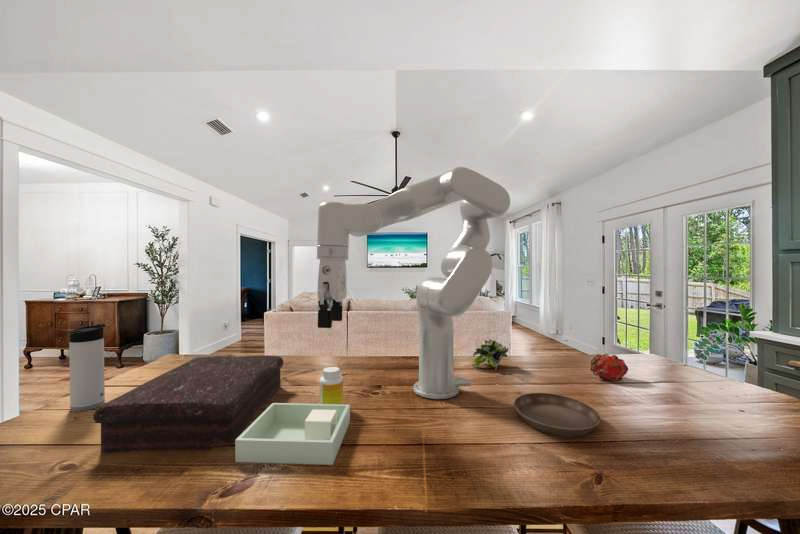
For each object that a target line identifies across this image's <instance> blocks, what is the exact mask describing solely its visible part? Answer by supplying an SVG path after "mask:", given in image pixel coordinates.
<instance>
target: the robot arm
mask: <svg viewBox="0 0 800 534" xmlns="http://www.w3.org/2000/svg"><path fill="white" fill-rule="evenodd" d="M460 201H461V202H460ZM457 202H460V207H459V209H460V215H461V219H462V229H461V232H460V234H459V235H458V236H457V239H456V240H455V241H454V243H453V244H452V246H450V248H449V250H448V251H447V252H446V254H445V255H444V257H443V258H442V259H441V263H440V269H441V270H440V271H441V272H442V275H444V276H445V277H439V276H438V277H436V276H435V277H434V276H433V277H432V276H431V277H429V278H426V279H424V280H423V281H422V282H421V283H419V285H418V287H417V289H416V290H417V291H416V295H415V296H416V298H415V300H416V305H417V306H416V307H417V312H418V331H419V332H418V381H416V382H415V383H414V384H413V387H412V389H413V392H414V393H415V394H417V396H420V397H422V398H425V399H430V400H431V399H433V400H447V399H450V398H454V397H456V396H457V395H458V394H459V392H460V386H462V387H471V385H472V383H471V382H472V381H471V379H470V378H466V377H465V376H456V375H455V373H454V337H455V335H454V331H455V330H454V329H455V327H454V321H453V317H458V316H461V315H463V314H464V313H466V311H467V310H468V309H470V307H471V305H473V303H474V301H475V300H476V299H477V297H478V295H479V294H480V292H481V290H483V288H484V286H485V285H486V283H487V282H488V280H489V278H490V277H491V274H492V270H493V260H492V256H491V254H490V253H489V252H488V251H487V247H488V245H489V243H490V239H491V238H490V237H491V234H490V228H489V223H488V219H494V218H498V217H501V216H503V215H504V214H505V213H507V212H508V210H509V209H510V206H511V196H510V195H509V192H508V191H507V190H506V188H505V187H504V186H502V185H501V184H499V183H497V182H495V181H493V180H492V179H491V178H489V177H486V176H485V175H483V174H482V173H479V172H477V171H475V170H473V169H470V168H468V167H464V166H458V167H454V168H452V169H450V170H448V171H446V172H443V173H442V174H439V175H436V176H433V177H430V178H428V179H425V180H422V181H420V182H416V183H413V184H411V185H407V186H405V187H403V188H401V189H399V190H397V191H395V192H393V193H391V194H389V195H387V196H386V197H383V198H381V199H378V200H376V201H373V202H370V203H354V204H351V203H346V204H345V203H343V202H338V201H325V202H322V203H320V204H319V206H318V209H317V238H316V239H317V241H316V243H317V246H316V260H319V265H318V274H317V276H318V277H317V299H318V301H317V303H318V306H317V328H319V329H331V328H332V327H333V322H342V320H343V302H344V299H346V298H347V292H348V291H347V265H346V261H349V248H350V247H349V245H350V243H349V242H350V241H349V240H350V235H351V236H352V237H356V238H359V237H361V238H362V237H364V236H369V235H372V234H375V233H376V232H378V231H379V230H380V229H383V228H385V227H389V226H392V225H395V224H399V223H401V222H407V221H409V220H410V221H411V220H413V219H415V218H419V217H421V216H424V215H426V214H428V213H431V212H434V211H436V210H438V209H441V208H444V207H446V206H448V205H451V204H453V203H457Z"/></svg>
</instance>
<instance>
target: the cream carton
mask: <svg viewBox="0 0 800 534" xmlns="http://www.w3.org/2000/svg"><path fill="white" fill-rule="evenodd" d="M336 426H337V410H314V409H313V410H312V411H311V413H310V414H309V415H308V417H307V418H306V420H305V440H330V439H331V436H332V434H333V432H334V430H335V428H336Z"/></svg>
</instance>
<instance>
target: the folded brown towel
mask: <svg viewBox="0 0 800 534" xmlns="http://www.w3.org/2000/svg"><path fill="white" fill-rule="evenodd" d="M283 366H284V359H283V357H281V356H278V355H243V356H242V355H241V356H233V355H231V356H229V355H227V356H225V355H214V356H199V357H195V358H192V359H190V360H188V361H186V362H184V363H183V364H182V363H181V365H179V366H177V367H174V368H173V369H170V370H169V371H166V372H163V373H162V374H160V375H157V376H156V377H154V378H152V379H150V380H148V381H146V382H144V383H143V384H141V385H139V386H137V387H135V388H133V389H131V390H129V391H127V392H125V393H123V394H121V395H119V396H117V397H115V398H113V399H111V400H109V401H108V402H105V403H104V404H103V405H101V406H100V407H97V408H96V409H95V410H94V413H93V415H92V416H93V417H92V418H93V421H94V422H95V423H97V424H98V423H99V424H100V453H103V454H109V453H128V452H135V451H136V452H139V451H144V452H145V451H169V450H171V451H173V450H175V451H178V450H180V451H182V450H201V451H211V450H212V449H213V448H225V447H229V446H231V445H232V444H233V443H235V440H236V439H237V438H238V437H239V436H240V435H241V434H242V433H243V432H244V430H245V428H246V427H247V426H248V424H249V423H250V422H251V420H252V419H253V418H254V416H255V415H256V414H257V412H258V411H259V409H261V407H263V405H264V404H265V403H266V402H268V400H269V399H271V398H273V397H274V396H275V395H274V394H275V393H276V394H277V393H278V391H279V390H280V389H281V368H282V367H283ZM279 388H280V389H279ZM273 395H274V396H273ZM272 396H273V397H272Z"/></svg>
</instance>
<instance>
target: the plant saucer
mask: <svg viewBox="0 0 800 534" xmlns="http://www.w3.org/2000/svg"><path fill="white" fill-rule="evenodd" d="M513 404H514V405H513V406H514V408H515V410H516V411H517V413H518V415H519V416H520V417H521V419H522V420H523V421H524V422H525V423H526V424H528V425H529V427H530V426H531V427H532V428H534V429H536V430H538V431H539V432H543V433H545V434H549V435H555V436H560V437H567V438H568V437H569V438H570V437H571V438H572V437H573V438H574V437H581V436H585V435H586V434H589V433H591V432H592V431H593V430H594V429H596V427H597V426H598V425H599V423H600V422H601V416H600V414H599V413H598V411H597V410H596V409H595V408H593V407H592V406H590V405H589V404H588V403H585V402H582V401H580V400H578V399H575V398H572V397H568V396H565V395H561V394H556V393H549V392H547V393H546V392H530V393H526V394H525V393H524V394H522V395H520V396H518V397H516V399H515V400H514V401H513Z"/></svg>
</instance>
